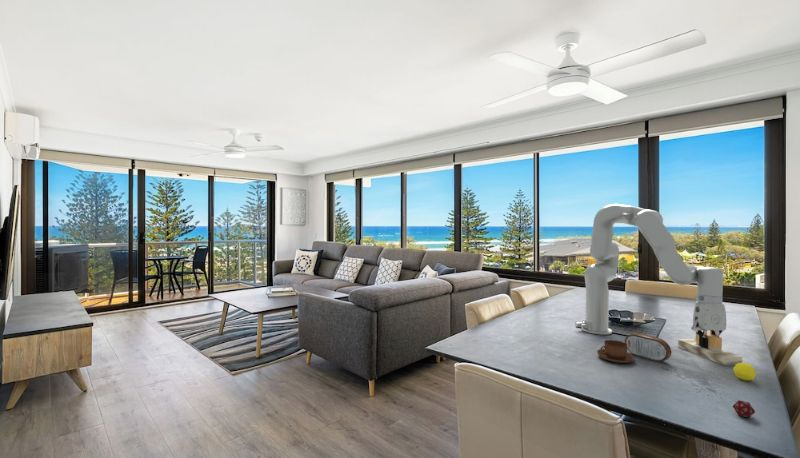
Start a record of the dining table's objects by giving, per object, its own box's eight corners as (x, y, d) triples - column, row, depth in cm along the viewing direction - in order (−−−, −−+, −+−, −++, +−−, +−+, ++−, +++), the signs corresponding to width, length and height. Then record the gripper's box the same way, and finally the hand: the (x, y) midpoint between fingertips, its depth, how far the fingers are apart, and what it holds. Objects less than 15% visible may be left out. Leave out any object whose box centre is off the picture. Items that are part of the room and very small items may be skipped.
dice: (755, 422, 96) (755, 406, 96) (732, 416, 99) (732, 401, 99) (755, 416, 98) (755, 401, 98) (732, 410, 101) (732, 396, 101)
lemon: (754, 385, 118) (754, 368, 118) (731, 379, 122) (731, 363, 122) (757, 379, 122) (757, 363, 122) (735, 374, 126) (735, 358, 126)
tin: (671, 363, 136) (672, 340, 135) (667, 365, 134) (668, 341, 134) (627, 351, 148) (627, 330, 148) (623, 352, 146) (623, 331, 146)
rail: (742, 365, 134) (742, 356, 134) (724, 365, 134) (724, 357, 134) (693, 346, 154) (694, 339, 154) (678, 346, 154) (678, 339, 154)
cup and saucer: (621, 368, 131) (621, 350, 131) (590, 357, 142) (590, 340, 141) (641, 362, 136) (642, 345, 136) (610, 352, 147) (610, 336, 147)
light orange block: (721, 357, 140) (722, 337, 140) (714, 358, 140) (714, 338, 140) (702, 350, 148) (702, 331, 148) (695, 350, 148) (695, 331, 148)
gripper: (698, 301, 139) (696, 350, 140) (738, 301, 141) (737, 349, 141) (681, 297, 147) (679, 344, 147) (720, 297, 148) (718, 343, 149)
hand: (708, 346), depth 144 cm, fingers open, 3 cm apart
